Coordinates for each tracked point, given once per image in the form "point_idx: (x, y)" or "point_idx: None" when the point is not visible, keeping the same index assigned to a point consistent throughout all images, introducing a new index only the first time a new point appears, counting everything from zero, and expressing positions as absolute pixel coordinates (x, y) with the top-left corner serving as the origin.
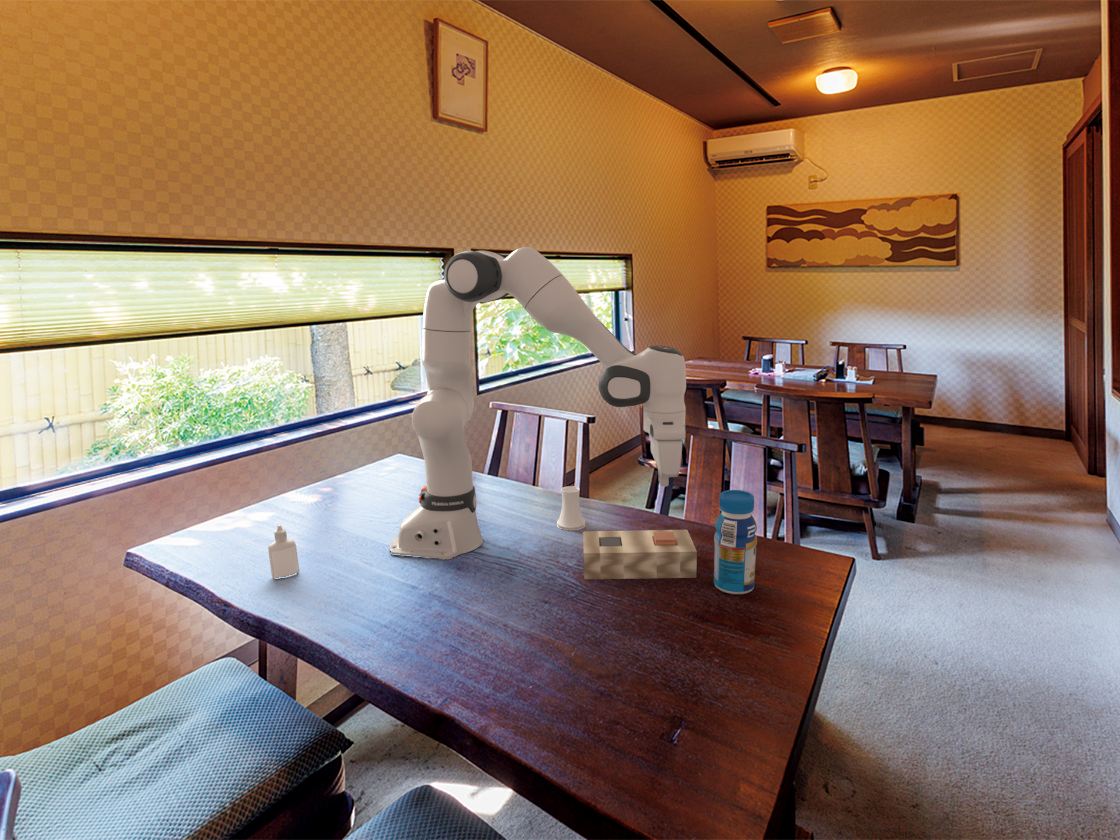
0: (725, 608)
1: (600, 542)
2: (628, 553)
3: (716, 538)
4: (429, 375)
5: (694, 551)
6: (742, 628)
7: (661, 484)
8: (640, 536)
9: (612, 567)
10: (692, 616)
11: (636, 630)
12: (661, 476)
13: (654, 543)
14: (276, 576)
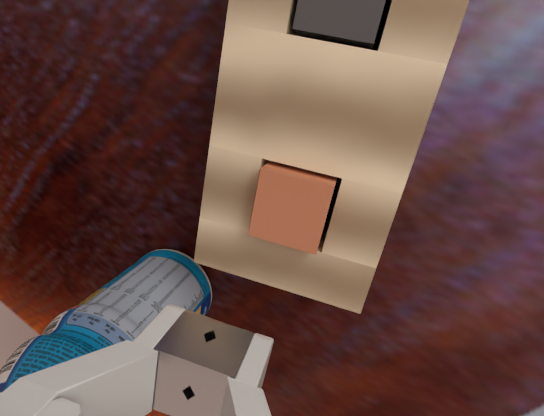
0: (95, 225)
1: None
2: (224, 42)
3: (80, 315)
4: None
5: (195, 256)
6: (33, 218)
7: (164, 314)
8: (353, 135)
9: None
10: (69, 149)
11: (20, 5)
12: (92, 360)
13: (305, 171)
14: None
